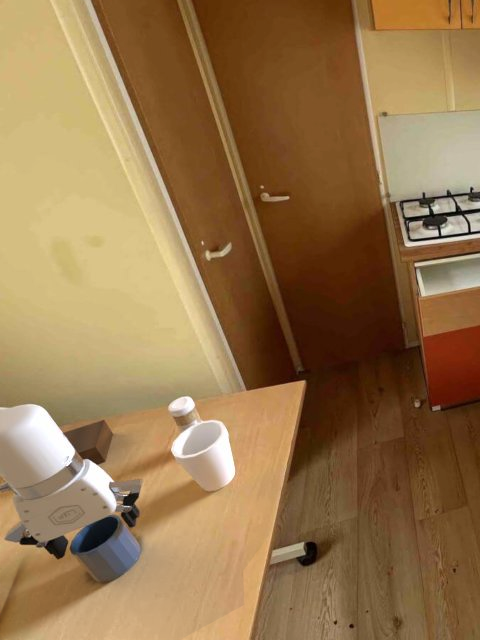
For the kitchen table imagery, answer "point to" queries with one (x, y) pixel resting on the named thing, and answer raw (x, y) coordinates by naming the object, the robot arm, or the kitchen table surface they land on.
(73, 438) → the block
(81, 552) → the cup
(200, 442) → the foam cup
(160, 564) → the kitchen table surface
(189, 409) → the sprinkles bottle
